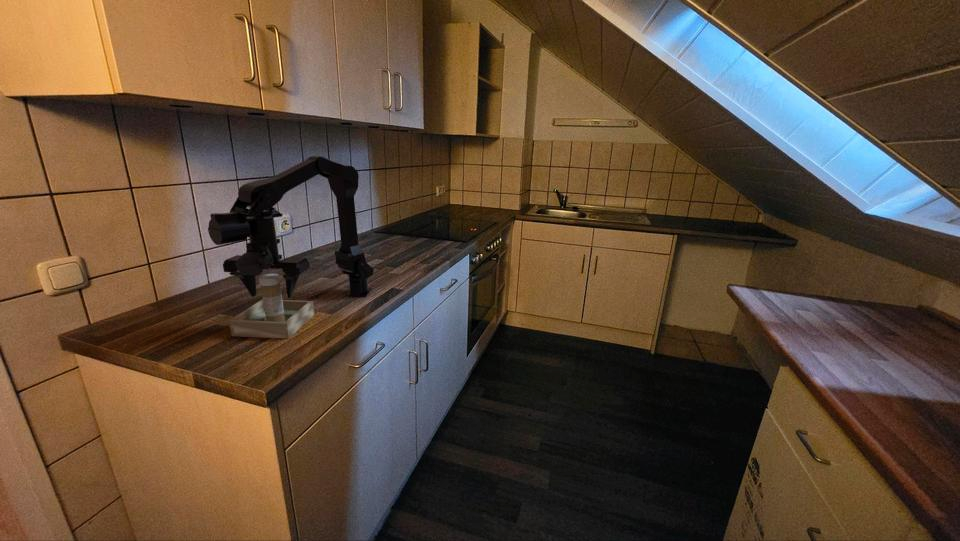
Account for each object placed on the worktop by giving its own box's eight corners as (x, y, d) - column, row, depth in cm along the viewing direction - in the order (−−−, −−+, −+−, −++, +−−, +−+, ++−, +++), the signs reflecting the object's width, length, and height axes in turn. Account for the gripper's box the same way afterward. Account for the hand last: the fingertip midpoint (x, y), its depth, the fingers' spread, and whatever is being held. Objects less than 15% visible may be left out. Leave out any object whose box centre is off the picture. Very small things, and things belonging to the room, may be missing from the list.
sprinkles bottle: (283, 319, 101) (276, 271, 97) (288, 325, 98) (281, 276, 93) (264, 323, 98) (256, 275, 94) (268, 330, 95) (260, 280, 91)
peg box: (264, 312, 105) (262, 299, 103) (314, 314, 104) (312, 301, 103) (231, 336, 91) (229, 321, 90) (289, 338, 91) (286, 323, 90)
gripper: (200, 243, 83) (213, 308, 88) (284, 246, 83) (292, 311, 88) (232, 232, 94) (243, 291, 98) (307, 235, 93) (313, 293, 98)
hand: (271, 296), depth 95 cm, fingers open, 9 cm apart
